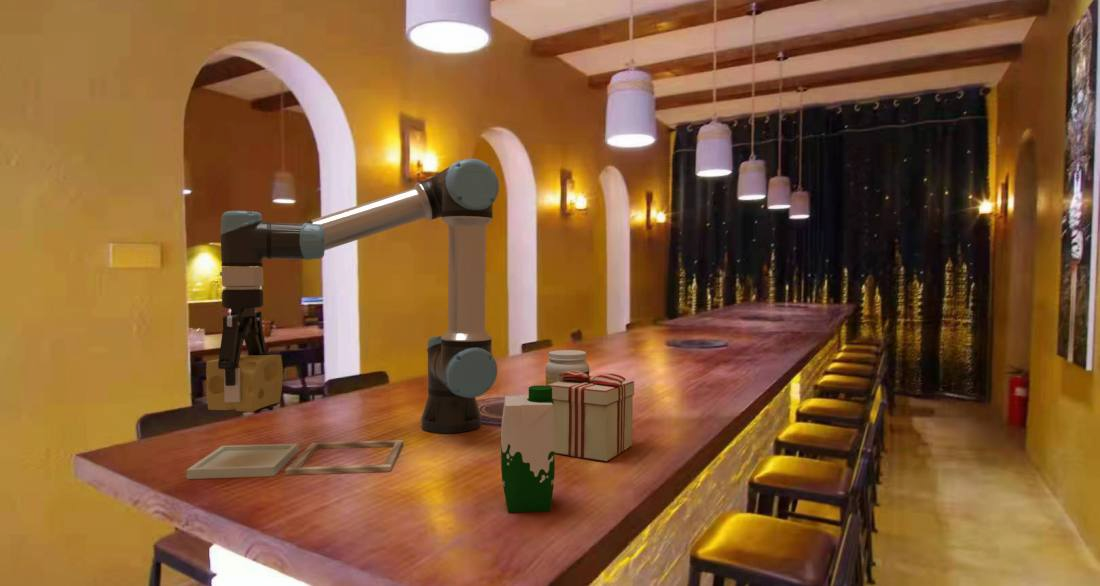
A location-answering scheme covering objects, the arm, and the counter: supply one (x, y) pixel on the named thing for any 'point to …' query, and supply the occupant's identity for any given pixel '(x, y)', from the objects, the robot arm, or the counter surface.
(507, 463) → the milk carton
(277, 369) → the cheese
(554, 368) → the supplement tub
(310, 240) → the robot arm
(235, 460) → the plate
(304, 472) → the wooden square frame
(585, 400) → the gift box
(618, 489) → the counter surface
